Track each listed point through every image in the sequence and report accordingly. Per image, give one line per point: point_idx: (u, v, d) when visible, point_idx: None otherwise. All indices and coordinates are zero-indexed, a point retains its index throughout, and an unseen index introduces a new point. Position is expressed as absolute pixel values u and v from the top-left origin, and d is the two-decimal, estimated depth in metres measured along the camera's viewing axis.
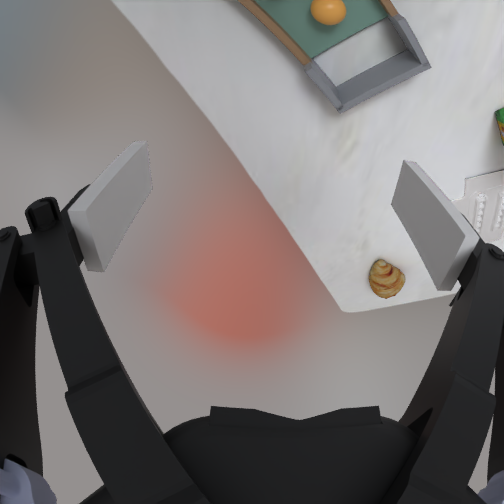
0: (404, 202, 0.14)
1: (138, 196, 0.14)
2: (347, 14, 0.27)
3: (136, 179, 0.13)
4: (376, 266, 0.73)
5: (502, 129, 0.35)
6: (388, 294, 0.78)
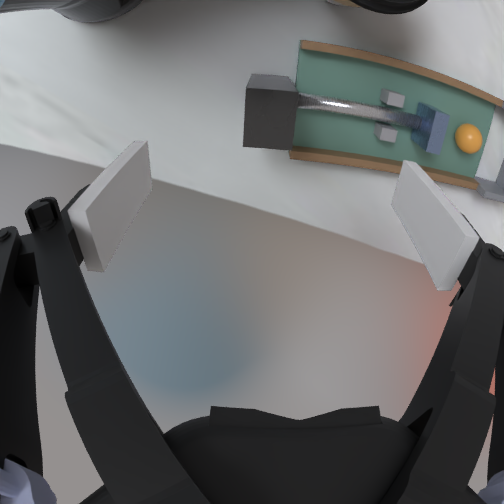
0: (404, 202, 0.14)
1: (138, 195, 0.14)
2: None
3: (136, 179, 0.13)
4: None
5: None
6: None
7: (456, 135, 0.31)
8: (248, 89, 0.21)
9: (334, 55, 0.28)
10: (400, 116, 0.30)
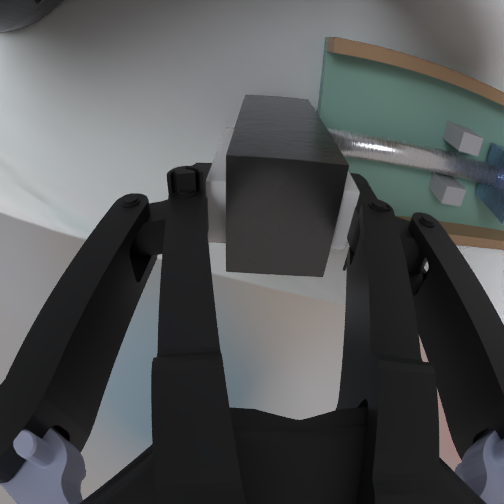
0: None
1: None
2: None
3: None
4: None
5: None
6: None
7: None
8: (231, 159, 0.10)
9: (382, 65, 0.16)
10: (472, 168, 0.18)
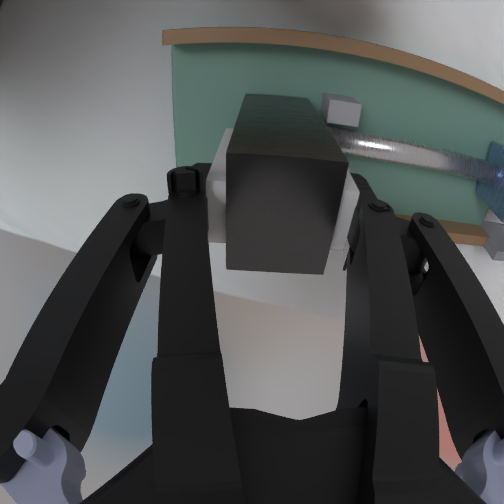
0: None
1: None
2: None
3: None
4: None
5: None
6: None
7: None
8: (231, 156, 0.10)
9: (230, 45, 0.16)
10: (472, 166, 0.18)
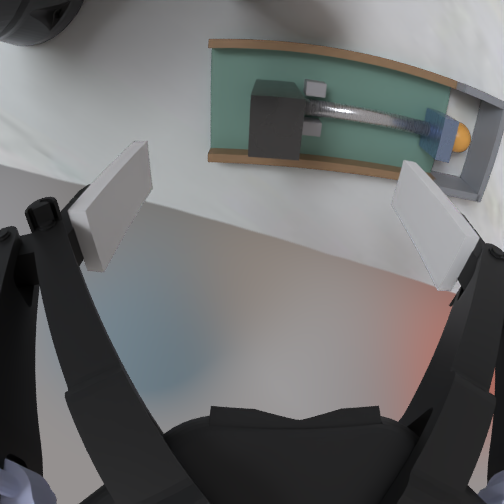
0: (404, 202, 0.14)
1: (138, 195, 0.14)
2: None
3: (136, 179, 0.13)
4: None
5: None
6: None
7: None
8: (253, 96, 0.20)
9: (248, 50, 0.27)
10: (408, 123, 0.29)
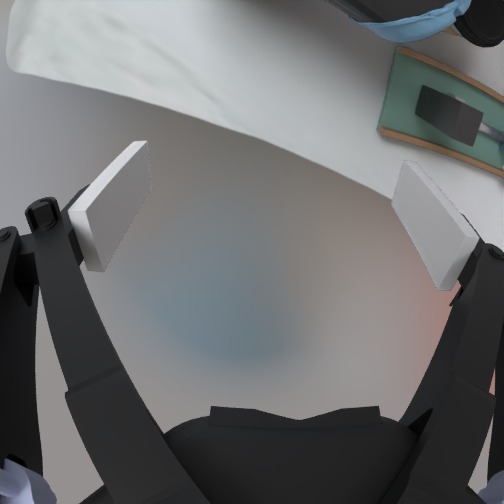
0: (404, 202, 0.14)
1: (138, 196, 0.14)
2: None
3: (136, 179, 0.13)
4: None
5: None
6: None
7: None
8: (462, 103, 0.27)
9: (420, 62, 0.33)
10: (499, 134, 0.36)
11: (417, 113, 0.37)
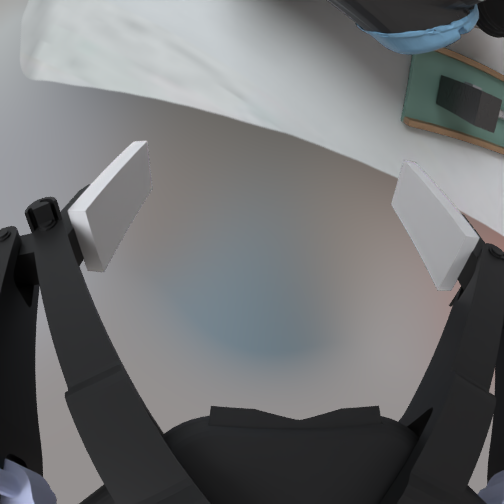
0: (404, 202, 0.14)
1: (138, 195, 0.14)
2: None
3: (136, 179, 0.13)
4: None
5: None
6: None
7: None
8: (483, 92, 0.26)
9: (437, 53, 0.32)
10: None
11: (438, 103, 0.36)
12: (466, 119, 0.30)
